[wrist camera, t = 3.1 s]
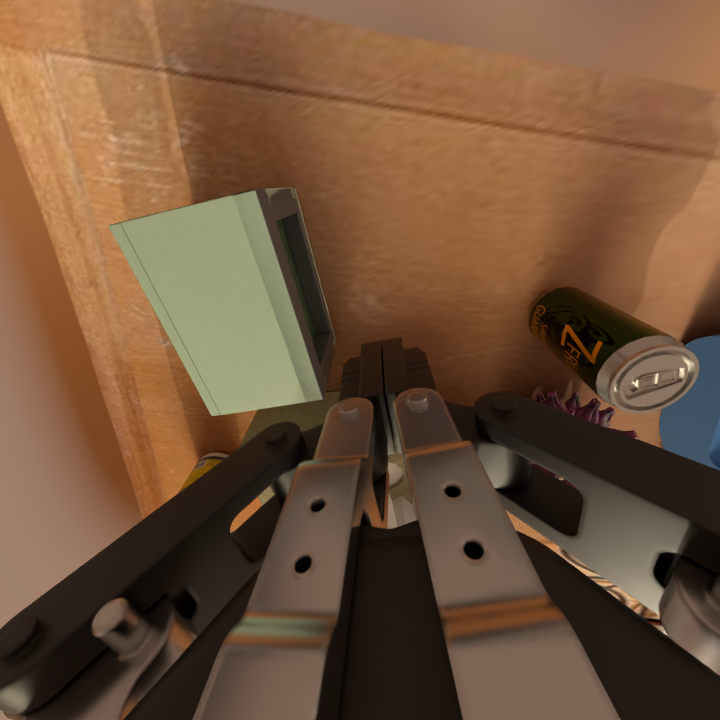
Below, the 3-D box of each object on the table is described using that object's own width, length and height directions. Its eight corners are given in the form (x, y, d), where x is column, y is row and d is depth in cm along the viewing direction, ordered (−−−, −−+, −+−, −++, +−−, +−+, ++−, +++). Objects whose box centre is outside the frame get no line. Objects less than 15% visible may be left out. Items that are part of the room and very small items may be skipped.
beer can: (585, 276, 28) (710, 330, 18) (586, 329, 31) (697, 404, 20) (522, 295, 29) (605, 357, 19) (528, 345, 32) (605, 424, 21)
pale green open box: (193, 211, 27) (107, 225, 18) (295, 186, 26) (255, 188, 17) (253, 355, 33) (211, 416, 25) (336, 341, 32) (323, 399, 24)
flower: (517, 354, 34) (632, 390, 33) (472, 439, 39) (570, 473, 38) (551, 413, 24) (720, 468, 22) (484, 517, 29) (619, 567, 28)
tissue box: (281, 459, 41) (235, 602, 27) (260, 397, 36) (191, 530, 22) (431, 449, 39) (464, 595, 25) (429, 382, 34) (469, 517, 20)
